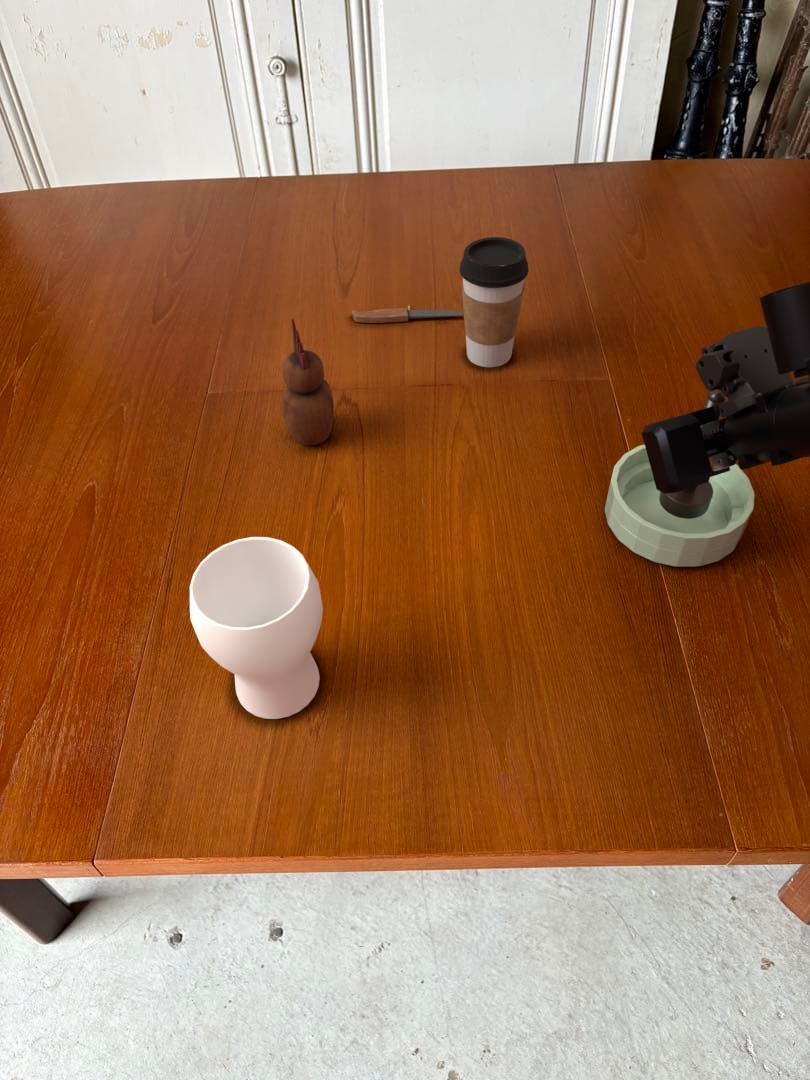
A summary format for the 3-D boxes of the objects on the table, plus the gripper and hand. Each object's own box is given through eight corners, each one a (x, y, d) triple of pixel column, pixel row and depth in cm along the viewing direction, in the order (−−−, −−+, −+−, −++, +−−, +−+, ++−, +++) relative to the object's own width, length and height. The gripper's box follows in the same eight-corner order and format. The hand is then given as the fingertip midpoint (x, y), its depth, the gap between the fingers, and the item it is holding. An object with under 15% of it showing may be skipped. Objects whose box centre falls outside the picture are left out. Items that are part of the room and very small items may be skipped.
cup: (336, 728, 72) (317, 630, 61) (216, 739, 72) (175, 642, 60) (333, 630, 79) (316, 526, 68) (224, 639, 79) (188, 536, 67)
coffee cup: (448, 365, 107) (449, 260, 96) (469, 331, 112) (473, 227, 101) (510, 379, 105) (518, 273, 93) (528, 343, 110) (538, 238, 98)
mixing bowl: (767, 550, 84) (783, 517, 80) (644, 585, 82) (654, 552, 78) (695, 462, 93) (706, 428, 90) (582, 491, 91) (588, 457, 87)
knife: (469, 300, 115) (471, 312, 113) (469, 306, 116) (471, 318, 114) (352, 306, 115) (352, 318, 113) (352, 313, 115) (352, 325, 113)
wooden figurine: (292, 416, 101) (274, 310, 90) (338, 416, 101) (326, 310, 89) (285, 453, 96) (265, 346, 85) (333, 453, 96) (320, 346, 85)
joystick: (693, 526, 82) (731, 415, 71) (649, 503, 84) (680, 393, 73) (717, 499, 84) (757, 388, 74) (674, 478, 87) (706, 367, 76)
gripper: (875, 295, 66) (750, 339, 81) (679, 350, 62) (586, 385, 77) (907, 428, 67) (778, 447, 82) (715, 490, 63) (616, 498, 78)
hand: (691, 442), depth 80 cm, fingers closed on joystick
